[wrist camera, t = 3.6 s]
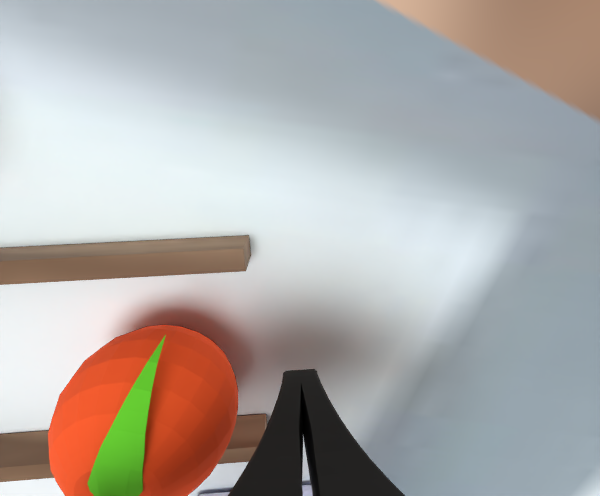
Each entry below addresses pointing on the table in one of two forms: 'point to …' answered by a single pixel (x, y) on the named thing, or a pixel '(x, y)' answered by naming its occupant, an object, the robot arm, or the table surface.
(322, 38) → the table surface
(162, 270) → the lane rails
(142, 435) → the clementine
